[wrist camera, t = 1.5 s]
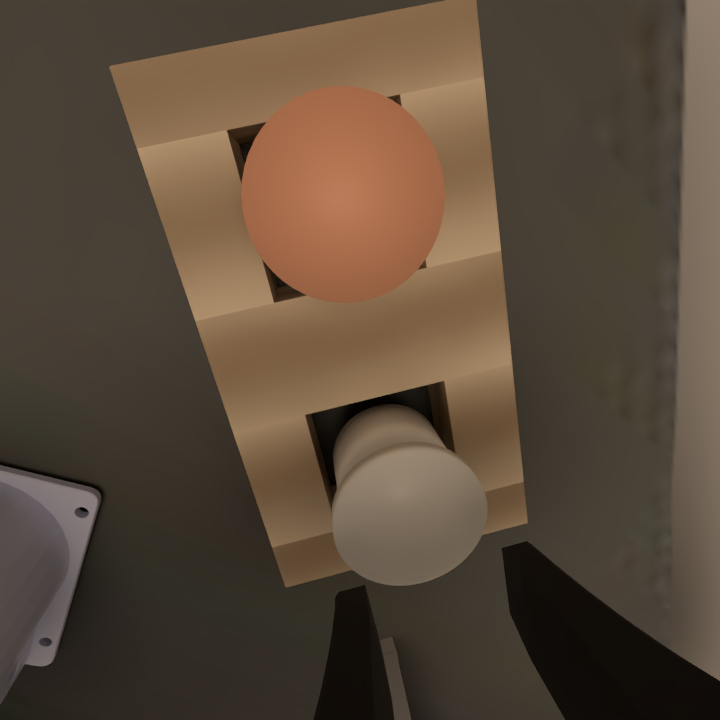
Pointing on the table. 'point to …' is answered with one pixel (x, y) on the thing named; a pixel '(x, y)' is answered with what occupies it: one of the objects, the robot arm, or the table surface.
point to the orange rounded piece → (343, 194)
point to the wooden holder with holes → (322, 318)
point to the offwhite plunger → (402, 498)
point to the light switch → (395, 680)
